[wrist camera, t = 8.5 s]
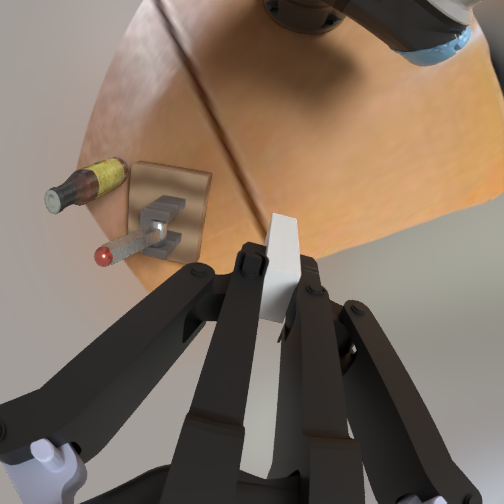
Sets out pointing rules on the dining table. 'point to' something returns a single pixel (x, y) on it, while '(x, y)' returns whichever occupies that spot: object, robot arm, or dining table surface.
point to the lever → (133, 241)
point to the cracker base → (175, 186)
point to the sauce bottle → (87, 184)
